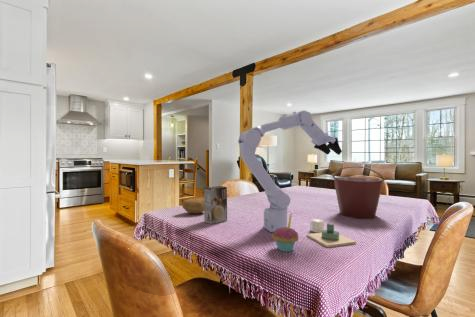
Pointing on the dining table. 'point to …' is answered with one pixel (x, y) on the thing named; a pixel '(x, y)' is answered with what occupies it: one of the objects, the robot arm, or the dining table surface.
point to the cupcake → (285, 237)
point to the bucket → (358, 195)
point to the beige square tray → (330, 237)
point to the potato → (194, 205)
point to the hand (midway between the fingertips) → (334, 152)
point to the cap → (317, 225)
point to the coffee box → (215, 204)
